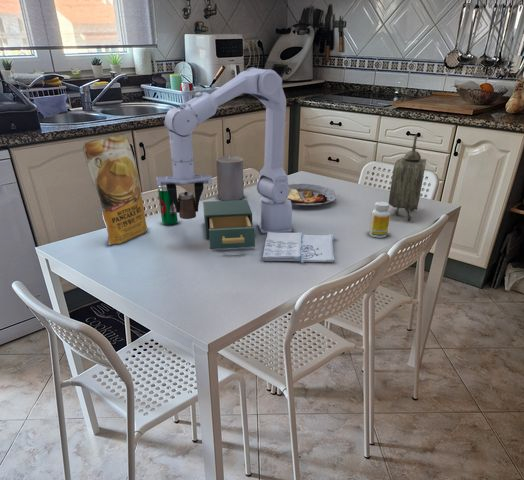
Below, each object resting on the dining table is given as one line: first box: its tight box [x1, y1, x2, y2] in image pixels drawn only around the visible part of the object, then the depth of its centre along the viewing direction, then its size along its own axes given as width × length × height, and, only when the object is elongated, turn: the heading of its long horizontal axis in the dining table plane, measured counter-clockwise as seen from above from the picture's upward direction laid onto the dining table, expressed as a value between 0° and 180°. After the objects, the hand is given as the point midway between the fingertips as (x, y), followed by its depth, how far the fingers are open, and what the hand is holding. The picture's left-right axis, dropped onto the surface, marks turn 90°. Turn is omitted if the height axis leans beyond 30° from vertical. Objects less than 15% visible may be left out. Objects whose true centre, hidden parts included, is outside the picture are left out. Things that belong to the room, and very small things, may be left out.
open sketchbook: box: [262, 232, 336, 264], centre depth 137 cm, size 19×20×2 cm
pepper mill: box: [177, 190, 197, 220], centre depth 133 cm, size 5×5×7 cm
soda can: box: [157, 185, 179, 226], centre depth 153 cm, size 5×5×12 cm
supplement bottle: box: [368, 201, 391, 239], centre depth 145 cm, size 5×5×10 cm
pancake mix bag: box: [82, 133, 148, 246], centre depth 139 cm, size 7×19×28 cm, turn 149°
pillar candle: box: [215, 154, 245, 201], centre depth 175 cm, size 10×10×15 cm
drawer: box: [208, 216, 256, 250], centre depth 139 cm, size 16×13×6 cm
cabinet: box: [202, 199, 253, 240], centre depth 149 cm, size 13×14×7 cm
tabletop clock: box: [388, 134, 427, 222], centre depth 155 cm, size 14×9×25 cm, turn 161°
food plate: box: [286, 183, 338, 207], centre depth 176 cm, size 25×23×4 cm
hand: (187, 211), depth 134 cm, fingers closed on pepper mill, 4 cm apart
